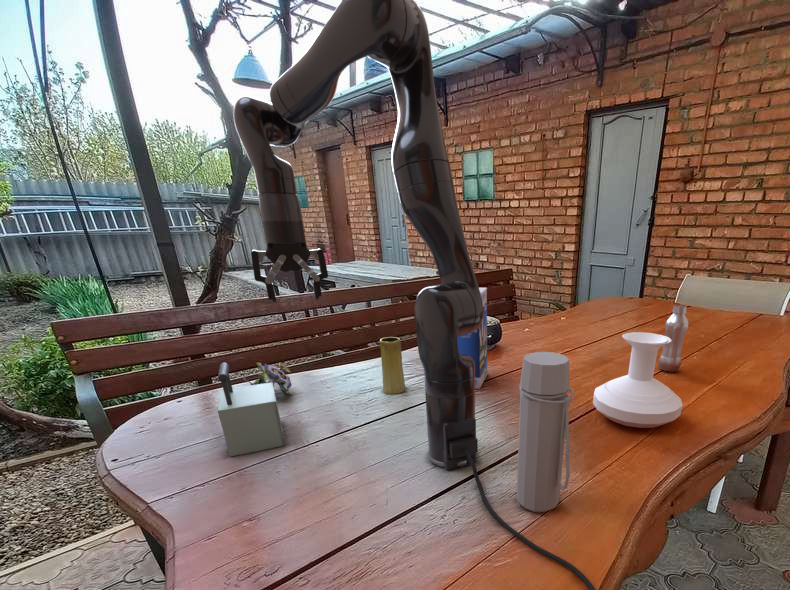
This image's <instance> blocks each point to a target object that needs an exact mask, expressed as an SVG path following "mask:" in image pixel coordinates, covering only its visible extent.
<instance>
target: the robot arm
mask: <svg viewBox="0 0 790 590" xmlns="http://www.w3.org/2000/svg"><path fill="white" fill-rule="evenodd" d="M366 57H368V59H370V60H372V61H375V62H377V64H378V63H379V64H380V65H383V66H384V67H386V68H387V70H388V73H389V75H390V78H391V82H392V85H393V90H394V94H395V95H394V96H395V100H396V105H397V123H396V128H395V133H394V135H393V136H394V137H393V141H392V147H391V154H390V155H391V160H390V161H391V168H392V174H393V178H394V183H395V187H396V191H397V195H398V196H397V197H398V199H399V204H400V206H401V209H402V211H403V212H404V214H405V216H406V218H407V219H408V221H409V223H410V224H411V225H412V227H413V229H415V231H416V233H417V234H418V235H419V237H420V238H421V239H422V241H423V243H425V245H426V246H427V248H428V249H429V251H430V253H431V255H432V257H433V259H434V263H435V265H436V269H437V273H438V277H439V280H440V284H434V285H429V286H426V287H424V288H422V289H421V290H420V291H419V292H418V294H417V296H416V299H415V303H414V326H415V335H416V343H417V350H418V357H419V360H420V363H421V365H422V367H423V375H424V377H423V378H424V392H425V393H424V395H425V410H426V411H425V413H426V428H427V445H428V451H427V453H428V460H429V462H430V463H432V464H433V465H435V466H437V467H441V468H443V469H445V470H446V471H450V470H451V471H452V470H453V469H454V470H455V469H457V468H458V469H459V468H461V467H466V466H470V468H471V470H472V473H473V477H474V480H475V483H476V486H477V489H478V491H479V495H480V497H481V501H482V503H483V505H484V507H485V508H486V510H487V511H488V513H489V514H490V515H491V516H492V518H493V519H494V520H495V521H497V523H498V524H499V525H500V526H502V527H503V528H504V529H505V530H506V531H507V532H509V533H510V534H511V535H513V536H514V537H515V538H517V539H518V540H519V541H521V542H522V543H523V544H525V545H526V546H528V547H529V548H530V549H532V550H534V551H535V552H537V553H539V554H541V555H542V556H544V557H546V558H548V559H550V560H552V561H554V562H556V563H558V564H560V565H561V566H563V567H565V568H566V569H568V570H570V571H571V572H572V573H574V575H575V576H577V577H578V578H579V580H581V581H582V583H583V584H584V585H585V586H586V588H587V589H588V590H597V589H596V587H595V585H593V583H592V582H591V581H590V579H588V578H587V576H586V575H585V574H584V573H582V571H581V570H580V569H578V567H576V566H574V565H573V564H572V563H570V562H569V561H567V560H566V559H563V558H562V557H560V556H558V555H556V554H554V553H552V552H550V551H548V550H546V549H544V548H542V547H540V546H539V545H537V544H536V543H534V542H532V541H531V540H529V539H528V538H526V537H525V536H524V535H522V534H521V533H520V532H518V531H517V530H515V528H513V527H512V526H510V525H509V524H508V523H507V522H505V521H504V520H503V519H502V518H501V517H500V516H499V515H498V513H497V512H496V511H495V510H494V509H493V508H492V506H491V504H490V503H489V501H488V499H487V497H486V494H485V492H484V488H483V485H482V483H481V479H480V476H479V473H478V469H477V467H476V463H477V454H478V453H479V449H478V442H479V439H478V438H477V419H476V389H475V363H474V360H473V358H472V357H470V356H468V355H466V354H462V353H459V351H458V342H457V337H459V336H462V335H465V334H469V333H471V332H473V331H475V330H476V329H478V327H479V326H480V324H481V322H482V319H483V303H482V298H481V294H480V290H479V288H480V286H479V282H478V280H477V277H476V274H475V270H474V267H473V263H472V260H471V257H470V254H469V250H468V247H467V242H466V237H465V232H464V229H463V228H464V227H463V224H462V219H461V215H460V210H459V206H458V202H457V201H458V200H457V196H456V195H457V194H456V189H455V184H454V183H455V182H454V178H453V173H452V168H451V165H450V164H451V163H450V158H449V155H448V151H447V145H446V142H445V137H444V130H443V125H442V120H441V115H440V109H439V105H438V98H437V92H436V86H435V77H434V67H433V59H432V57H433V56H432V47H431V40H430V33H429V28H428V24H427V21H426V17H425V15H424V13H423V11H422V9H421V7H420V5H418V3H417V2H416V1H415V0H341V1H340V3H339V4H338V5H337V6H336V8H335V10H334V11H333V13H332V14H331V15H330V17H329V18H328V20H327V21H326V22H325V24H324V26H323V27H322V28H321V29H320V31H319V33H318V34H317V36H316V38H315V39H314V40H313V42H312V43H311V45H310V46H309V48H308V49H307V50H306V51H305V53H304V54H303V55H302V56H301V57H300V58H299V59H298V60H297V61H296V62H295V63H294V64H293V65H292V66H290V68H288V69H287V70H286V71H285V72H284V73H282V74H281V75H280V76H279V77H278V78H277V79H276V80H275V81H274V82H273V83H272V85H271V86H270V89H269V99H270V100H269V101H267V100H263V99H259V98H257V97H252V96H241V97H239V98H238V99H237V100H236V102H235V104H234V107H233V122H234V127H235V130H236V132H237V135H238V137H239V140H240V141H241V144H242V146H243V148H244V150H245V153H246V155H247V158H248V161H249V162H250V165H251V167H252V169H253V172H254V177H255V183H256V188H257V193H258V205H259V211H260V218H261V223H262V228H263V233H264V238H265V244H266V250H256V249H252V250H251V252H250V256H251V263H252V269H253V276H254V280H255V281H256V282H260V283H263V284H264V285H265V288H266V292H267V293H266V294H267V298H268V299H269V300H272V303H277V298H276V292H275V288H274V282H273V281H274V279H275V277H276V276H277V274H278V273H279V271H281V272H283V273H285V272H286V273H288V272H291V271H292V272H300V271H302V270H304V271H305V273H306V274H308V275H309V277H310V278H311V279H312V288H313V294H314V299H315V300H320V297H322V293H323V292H322V286H321V281H322V280H324V279H328V278H329V272H328V268H327V263H326V257H325V253H324V250H323V249H321V248H317V249H309V248H308V246H307V239H306V234H305V233H306V232H305V226H304V220H303V214H302V208H301V203H300V201H299V196H298V189H297V184H296V177H295V172H294V169H293V166H292V164H290V162H288V161H287V160H284V159H282V158H280V157H278V156H277V155H276V154H275V153H274V150H273V148H272V146H273V147H279V148H284V147H285V148H286V147H288V146H291V145H293V144H294V143H295V142H296V141H297V140H298V139H299V137H300V135H301V133H302V132H303V130H304V129H305V128H306V127H305V126H306V125H307V123H308V122H310V121H311V120H312V119H314V118H315V117H316V116H317V115H319V114H320V113H322V112H323V111H324V110H325V109H326V108H327V107H328V106H330V104H331V103H332V101H333V99H334V97H335V95H336V92H337V88H338V85H339V80H340V77H341V75H342V73H343V72H344V71H345V69H347V68H348V67H349V66H351V65H352V64H354V63H355V62H357V61H359V60H361V59H364V58H366ZM311 256H312V257H313V259H314V260H316V261H317V262H318V267H319V271H320V272H319V273H316V272H315V271H314V270H313V269H312V268H311V266H309V265H308V264H307V262H308V261H309V260H310V257H311ZM265 257H266V258H267V259H268V260H269V261H270V262H271V263H272V265H271V267H270V269H269V271H268V273H267V274H266V275H262V273H261V266H260V265H261V264H260V263H262V262H264V258H265Z"/></svg>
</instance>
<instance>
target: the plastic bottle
mask: <svg viewBox="0 0 790 590" xmlns="http://www.w3.org/2000/svg"><path fill="white" fill-rule="evenodd" d="M687 308H688V307H687V305H682V304H677V305H676V304H675V305H673V306H672V311H671V312H672V314H671V315H670V316H669V317H668V318H667V320H666V321H665V325H664V336H667V337H669V338H670V339H671V342H669V343H668V344H666V345H664V346H662V350H661V353H660V356H659V359H658V361H657V362H658V368H659V370H661V371H664V372H677V371H679V370H680V368H681V365H682V353H683V352H682V351H683V345H684V341H685V337H686V334H687V331H688V328H689V325H690V324H689V320H688V317H687V316H686V314H687Z"/></svg>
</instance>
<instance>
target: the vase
mask: <svg viewBox="0 0 790 590" xmlns="http://www.w3.org/2000/svg"><path fill="white" fill-rule="evenodd" d="M401 341H402V340H401V338H399V337H397V336H387V337H382V338H380V339H379V348H380V359H381V361H380V362H381V374H382V391H383V392H384V393H386V394H388V395H395V394H396V395H397V394H400V393H401V394H402V393H404V392H405V391H406V390H407V389H406V382H405V374H404V366H403V356H402V355H403V354H402V353H403V352H402V342H401Z"/></svg>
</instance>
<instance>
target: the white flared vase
mask: <svg viewBox="0 0 790 590" xmlns="http://www.w3.org/2000/svg"><path fill="white" fill-rule="evenodd" d="M621 337H622V338H623V339H624V341H626V342H627V343H628V344H629V345H630V346H631V350H630V359H629V365H628V373H627V374H626V375H623V376H619V377H616V378H614V379H610V380H609V381H607V382H605V383H603V384H600V385H599V386H596V387H595V389H594V392H593V397H592V398H593V399H592V404H593V406H594V408H595V409H596V410H597V411H598V412H599V413H600V414H602V415H603V416H604V417H605V418H606V419H609V420H610V421H612V422H614V423H617V424H619V425H623V426H626V427H631V428H638V429H643V428H644V429H650V428H651V429H653V428H657V427H660V426H664V425H666V424H669V423H671V422H674V421H675V420H677V419H678V418H679V417H681V416H682V415H681V414H682V410H683V401H682V398H681V397H680V396H678V395H677V394H676V393H675V392H674V391H673V390H672V389H671V388H670V387H669V386H668V385H666V384H664V383H662V381H659V380H658V379H656V378H654V376H655V375H654V374H655V368H656V363H657V357H658V352H659V351H658V350H659V349H661V348H663V346H664V345H666V344H668V343H669V342H671V339H670V338H669V337H667V336H665V335H663V334H659V333H653V332H643V331H632V332H626V333H623V334H622V336H621Z"/></svg>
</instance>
